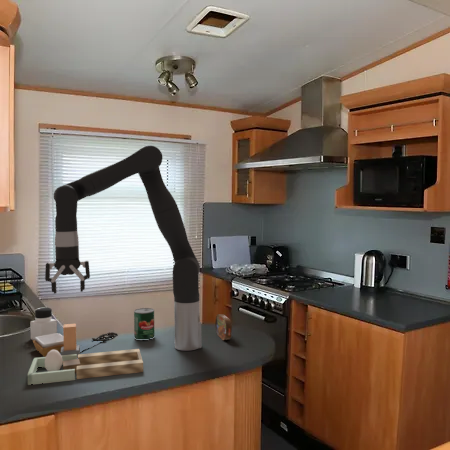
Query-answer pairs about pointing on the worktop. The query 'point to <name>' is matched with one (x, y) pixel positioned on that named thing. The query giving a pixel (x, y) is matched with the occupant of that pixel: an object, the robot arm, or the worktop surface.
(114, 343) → the worktop surface
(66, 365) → the chip block
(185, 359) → the worktop surface
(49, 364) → the egg
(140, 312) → the canned tomato
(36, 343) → the soap dish
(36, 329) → the medicine bottle
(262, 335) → the worktop surface
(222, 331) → the tin
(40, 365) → the tray
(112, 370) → the shallow wooden box
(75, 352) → the tan block grey base
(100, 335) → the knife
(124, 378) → the worktop surface
